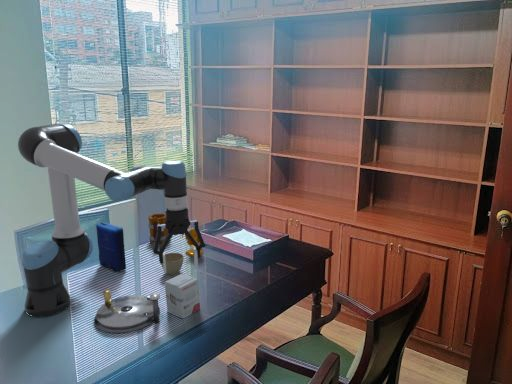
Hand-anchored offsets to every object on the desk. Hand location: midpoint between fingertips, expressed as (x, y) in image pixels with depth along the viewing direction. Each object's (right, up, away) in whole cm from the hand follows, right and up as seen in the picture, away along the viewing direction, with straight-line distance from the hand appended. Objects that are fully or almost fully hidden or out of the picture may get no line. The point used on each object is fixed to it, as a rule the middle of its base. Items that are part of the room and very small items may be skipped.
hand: (180, 269), depth 153 cm
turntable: (-19, -16, +1) cm, 25 cm away
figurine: (-3, -2, +55) cm, 55 cm away
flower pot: (-9, -8, +35) cm, 37 cm away
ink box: (0, -16, +4) cm, 16 cm away
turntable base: (-19, -16, +1) cm, 25 cm away
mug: (-23, +1, +71) cm, 75 cm away
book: (-36, -7, +40) cm, 55 cm away
